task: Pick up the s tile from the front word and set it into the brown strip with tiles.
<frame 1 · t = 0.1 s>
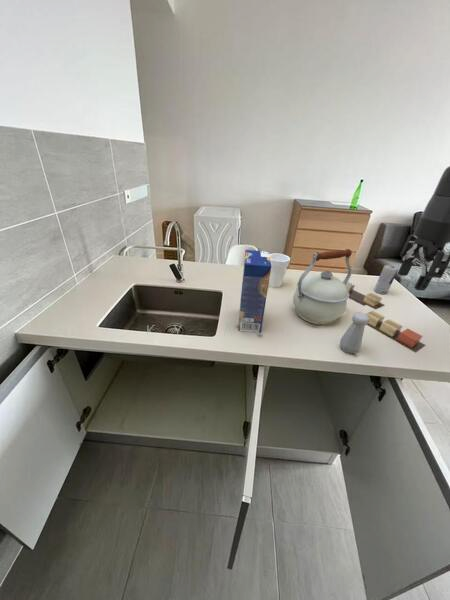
hand: (410, 281, 63), 24 cm above the worktop, tool pointing down, fingers open, 8 cm apart
s tile: (407, 341, 79), point 1 cm above the worktop, touching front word
kettle: (318, 313, 92), on the worktop
energy drink: (380, 292, 110), on the worktop
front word: (388, 333, 84), on the worktop
salt shaker: (347, 349, 76), on the worktop
foam cup: (274, 284, 111), on the worktop
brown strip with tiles: (356, 297, 104), on the worktop
juice carton: (249, 321, 86), on the worktop
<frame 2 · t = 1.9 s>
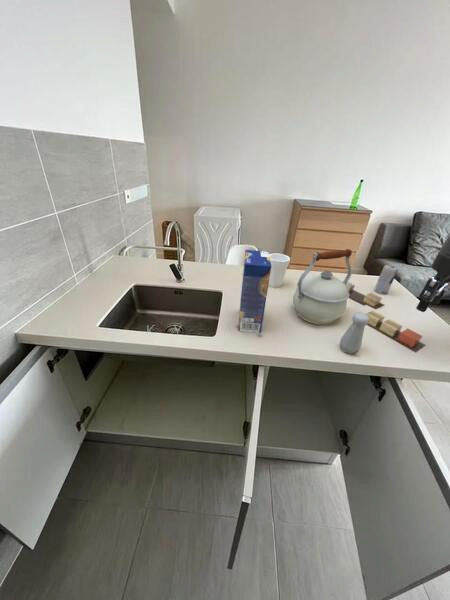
hand: (426, 306, 72), 14 cm above the worktop, tool pointing down, fingers open, 8 cm apart
nothing on the worktop moved.
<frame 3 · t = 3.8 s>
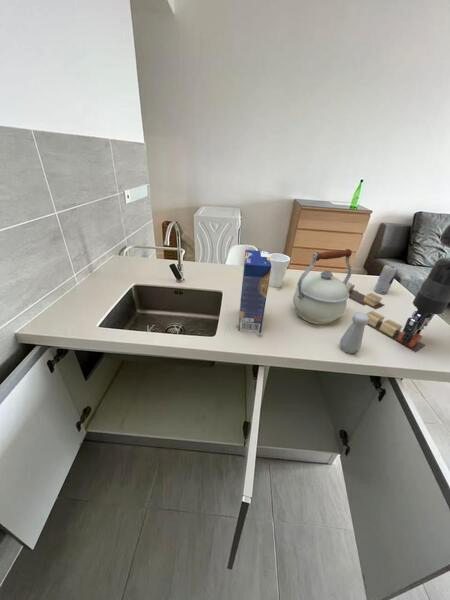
hand: (408, 339, 79), 2 cm above the worktop, tool pointing down, fingers closed on s tile, 4 cm apart
s tile: (407, 341, 79), point 1 cm above the worktop, touching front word, gripper
everything else where it was.
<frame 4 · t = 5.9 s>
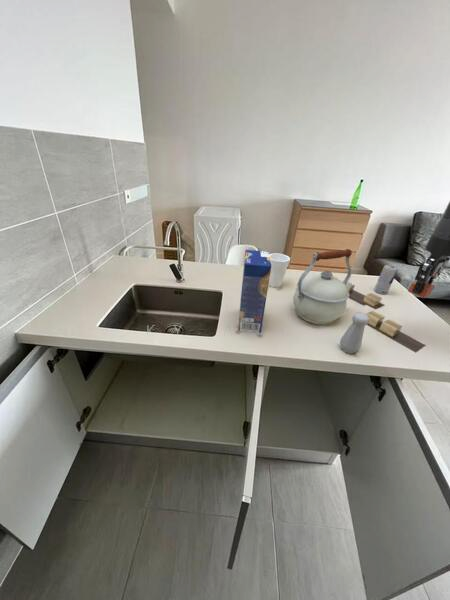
hand: (420, 290, 74), 17 cm above the worktop, tool pointing down, fingers closed on s tile, 4 cm apart
s tile: (418, 292, 75), point 16 cm above the worktop, touching gripper
everything else where it was.
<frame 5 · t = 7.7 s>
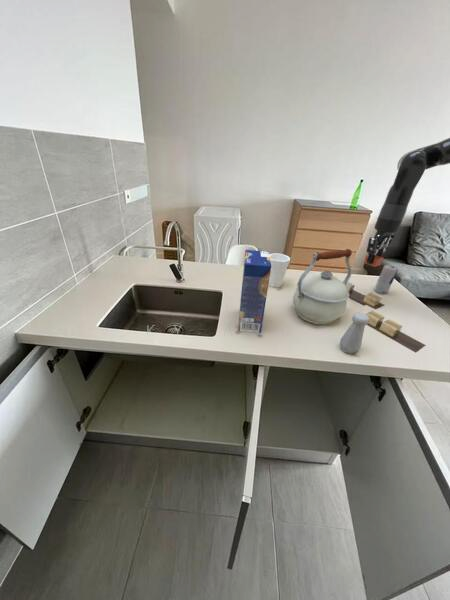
hand: (372, 261, 94), 17 cm above the worktop, tool pointing down, fingers closed on s tile, 4 cm apart
s tile: (372, 263, 95), point 16 cm above the worktop, touching gripper
everything else where it was.
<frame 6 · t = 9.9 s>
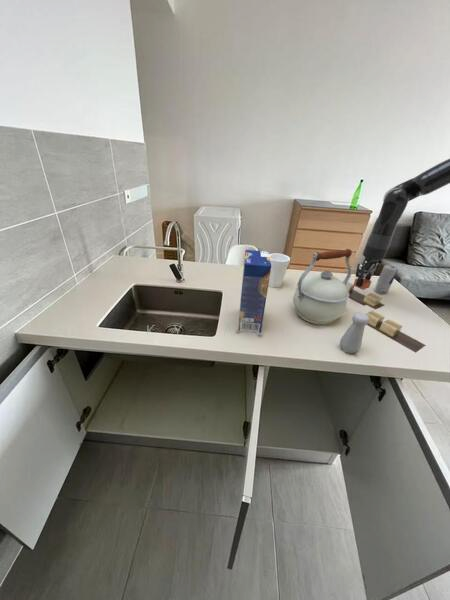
hand: (361, 284, 101), 6 cm above the worktop, tool pointing down, fingers closed on s tile, 4 cm apart
s tile: (361, 286, 101), point 5 cm above the worktop, touching gripper
everything else where it was.
when the fingers open (2 cm above the worktop, at t = 11.4 s): s tile stays where it is, resting on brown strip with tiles.
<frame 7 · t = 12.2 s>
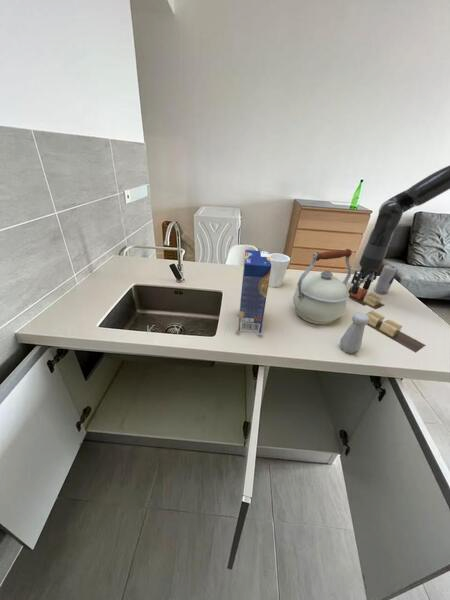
hand: (359, 291, 103), 3 cm above the worktop, tool pointing down, fingers open, 8 cm apart
s tile: (357, 295, 104), point 1 cm above the worktop, touching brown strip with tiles
everything else where it was.
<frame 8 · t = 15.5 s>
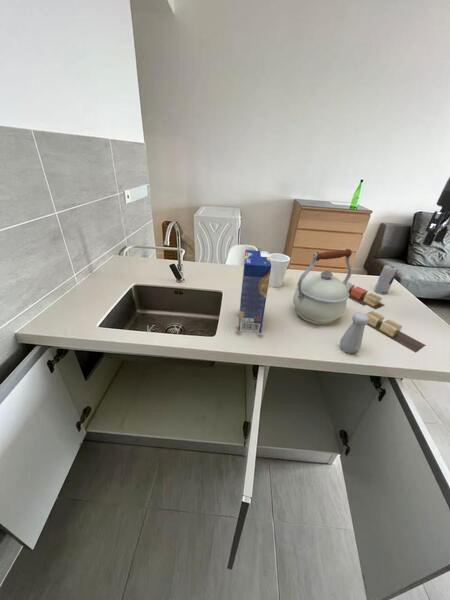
hand: (432, 243, 80), 28 cm above the worktop, tool pointing down, fingers open, 8 cm apart
nothing on the worktop moved.
at the end: s tile 0.1 cm off-centre on the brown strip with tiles, point 0.8 cm above the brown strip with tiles's base; s tile tilted 0°; the gripper is holding nothing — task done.
